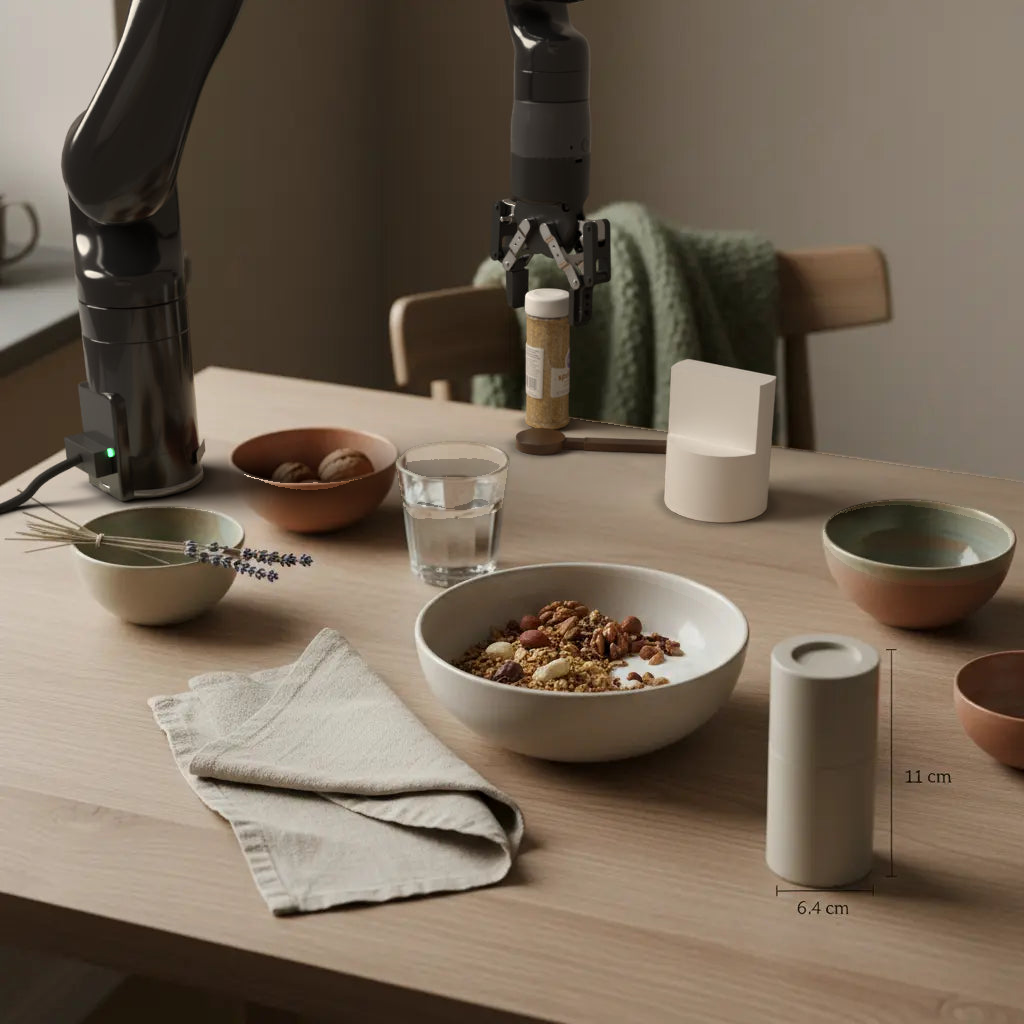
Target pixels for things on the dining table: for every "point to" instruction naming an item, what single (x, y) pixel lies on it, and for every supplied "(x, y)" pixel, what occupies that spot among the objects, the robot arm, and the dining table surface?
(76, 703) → the dining table surface
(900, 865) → the dining table surface
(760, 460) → the base with upright slab
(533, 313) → the spice jar
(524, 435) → the spoon
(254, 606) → the dining table surface
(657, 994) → the dining table surface
